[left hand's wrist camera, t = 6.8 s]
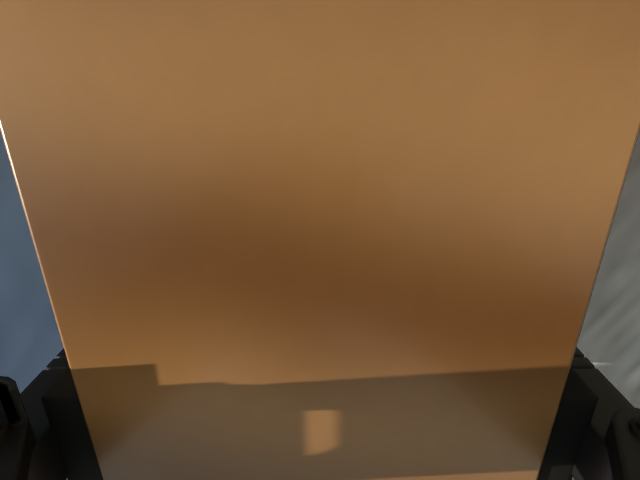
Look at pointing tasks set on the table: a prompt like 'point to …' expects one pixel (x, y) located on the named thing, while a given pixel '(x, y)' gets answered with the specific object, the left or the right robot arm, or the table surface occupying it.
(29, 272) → the table surface
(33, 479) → the left robot arm
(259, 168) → the wide beam
